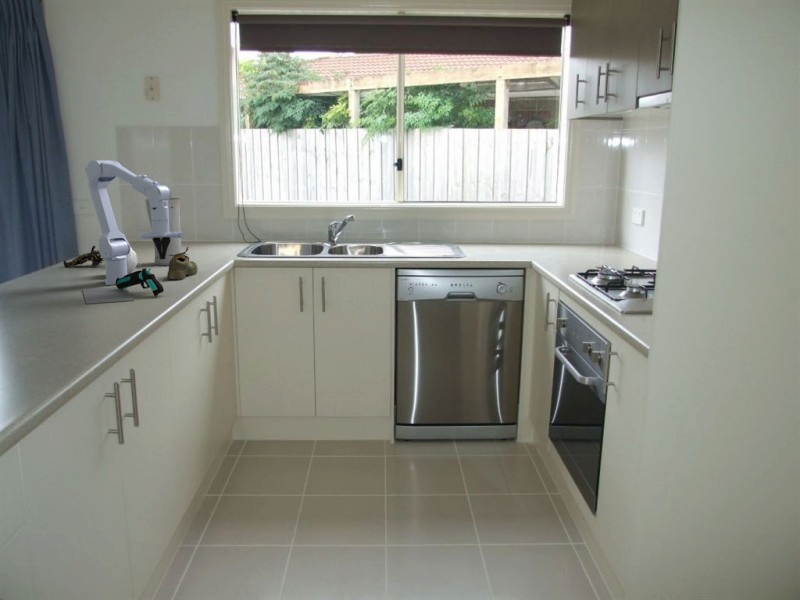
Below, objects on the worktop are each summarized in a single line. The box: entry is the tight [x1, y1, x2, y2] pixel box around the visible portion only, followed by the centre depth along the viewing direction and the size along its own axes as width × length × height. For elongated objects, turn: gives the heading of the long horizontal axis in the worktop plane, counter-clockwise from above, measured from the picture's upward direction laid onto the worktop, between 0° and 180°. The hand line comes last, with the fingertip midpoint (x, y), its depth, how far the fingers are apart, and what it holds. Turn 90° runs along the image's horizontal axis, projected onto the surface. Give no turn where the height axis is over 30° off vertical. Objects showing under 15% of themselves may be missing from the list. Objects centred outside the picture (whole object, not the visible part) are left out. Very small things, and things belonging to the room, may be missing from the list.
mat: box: [82, 286, 135, 305], centre depth 224 cm, size 24×14×1 cm, turn 27°
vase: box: [145, 197, 183, 267], centre depth 286 cm, size 13×14×28 cm
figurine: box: [63, 244, 104, 269], centre depth 278 cm, size 10×8×18 cm
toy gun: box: [114, 268, 165, 297], centre depth 228 cm, size 3×20×10 cm, turn 63°
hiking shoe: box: [166, 246, 199, 281], centre depth 261 cm, size 8×20×12 cm, turn 178°
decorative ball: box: [103, 246, 138, 274], centre depth 259 cm, size 12×12×12 cm
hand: (162, 259), depth 236 cm, fingers closed
